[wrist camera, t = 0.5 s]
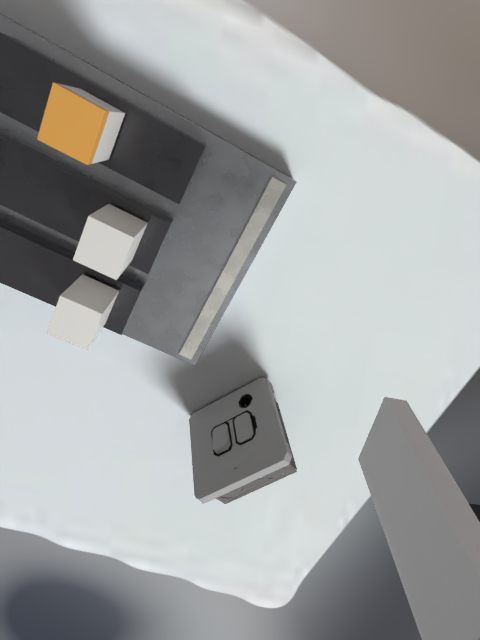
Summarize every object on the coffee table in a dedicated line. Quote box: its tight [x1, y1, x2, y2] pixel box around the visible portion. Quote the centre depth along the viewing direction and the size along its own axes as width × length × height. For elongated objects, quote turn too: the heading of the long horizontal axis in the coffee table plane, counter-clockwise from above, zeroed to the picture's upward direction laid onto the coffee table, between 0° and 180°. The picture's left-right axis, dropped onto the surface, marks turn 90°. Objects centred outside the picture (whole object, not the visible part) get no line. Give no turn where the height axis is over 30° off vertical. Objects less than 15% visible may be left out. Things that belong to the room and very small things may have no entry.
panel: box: [0, 14, 296, 365], centre depth 31 cm, size 28×18×4 cm, turn 62°
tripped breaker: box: [37, 82, 125, 165], centre depth 25 cm, size 3×3×4 cm
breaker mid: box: [73, 204, 148, 280], centre depth 28 cm, size 3×3×4 cm
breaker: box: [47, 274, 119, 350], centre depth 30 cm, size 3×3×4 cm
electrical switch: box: [189, 377, 297, 504], centre depth 38 cm, size 9×5×9 cm, turn 122°
